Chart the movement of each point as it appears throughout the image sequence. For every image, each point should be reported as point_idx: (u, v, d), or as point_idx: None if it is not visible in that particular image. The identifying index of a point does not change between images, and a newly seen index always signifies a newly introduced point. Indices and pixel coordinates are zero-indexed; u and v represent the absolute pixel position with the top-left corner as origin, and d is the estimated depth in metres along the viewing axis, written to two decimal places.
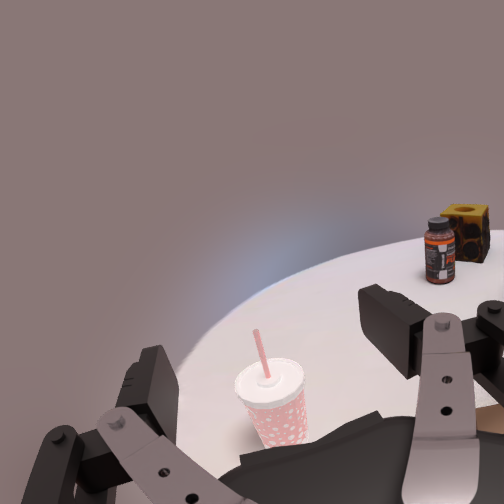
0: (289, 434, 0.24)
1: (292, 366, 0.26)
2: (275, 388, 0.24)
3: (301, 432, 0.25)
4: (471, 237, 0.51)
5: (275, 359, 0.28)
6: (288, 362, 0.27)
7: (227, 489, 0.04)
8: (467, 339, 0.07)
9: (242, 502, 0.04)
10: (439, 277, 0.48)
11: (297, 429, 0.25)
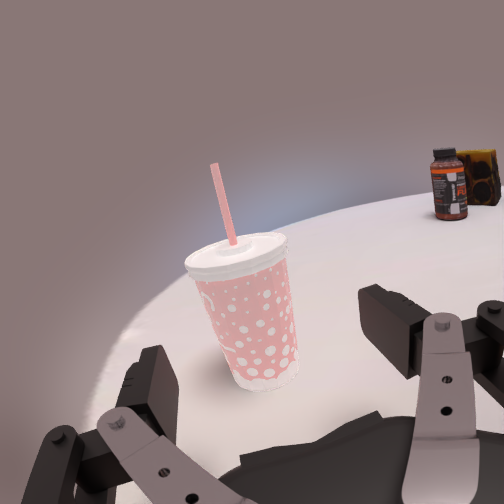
0: (267, 344, 0.17)
1: (270, 237, 0.19)
2: (242, 254, 0.17)
3: (286, 345, 0.18)
4: (481, 178, 0.44)
5: (248, 235, 0.21)
6: (265, 235, 0.20)
7: (226, 489, 0.04)
8: (467, 339, 0.07)
9: (242, 502, 0.04)
10: (451, 211, 0.41)
11: (279, 336, 0.18)
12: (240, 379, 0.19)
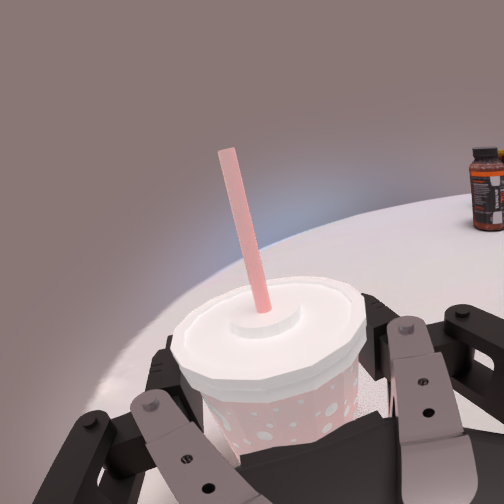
0: None
1: (327, 289, 0.11)
2: (287, 339, 0.08)
3: None
4: None
5: (282, 280, 0.12)
6: (315, 282, 0.11)
7: (245, 482, 0.04)
8: (432, 343, 0.08)
9: (256, 498, 0.04)
10: (493, 221, 0.32)
11: None
12: None
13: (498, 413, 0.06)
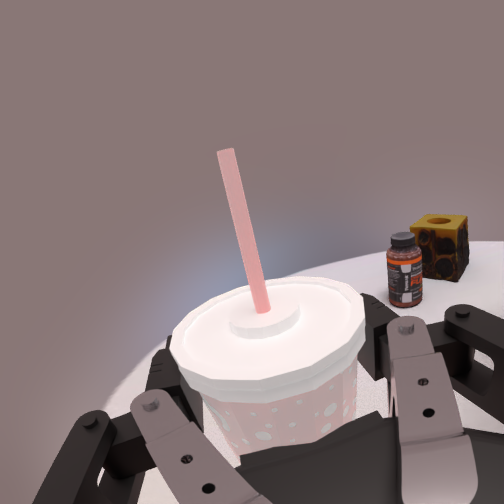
0: None
1: (326, 289, 0.11)
2: (286, 339, 0.08)
3: None
4: (445, 253, 0.48)
5: (281, 280, 0.12)
6: (314, 283, 0.11)
7: (245, 482, 0.04)
8: (432, 343, 0.08)
9: (256, 498, 0.04)
10: (402, 300, 0.45)
11: None
12: None
13: (498, 413, 0.06)
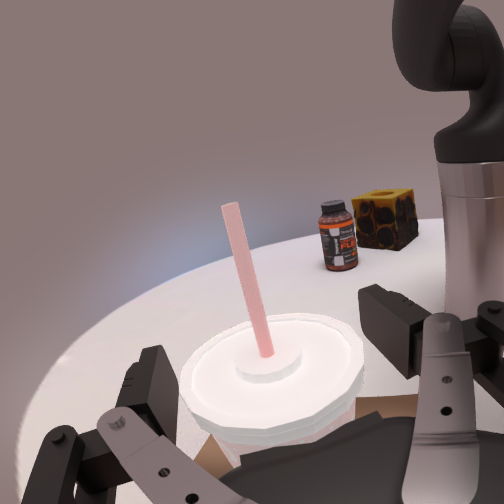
0: None
1: (327, 328, 0.11)
2: (289, 385, 0.08)
3: None
4: (385, 223, 0.54)
5: (283, 316, 0.12)
6: (315, 320, 0.11)
7: (226, 489, 0.04)
8: (467, 339, 0.07)
9: (242, 502, 0.04)
10: (334, 263, 0.51)
11: None
12: None
13: None
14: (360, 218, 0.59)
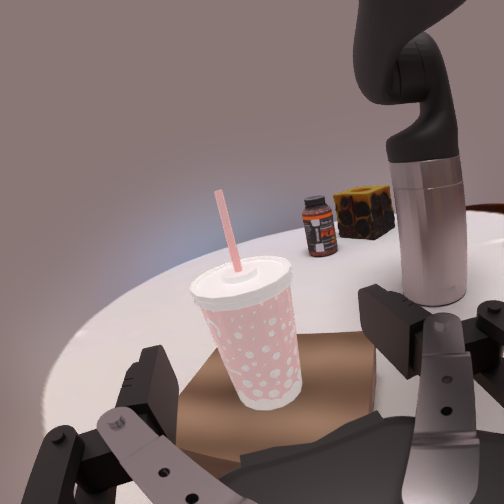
0: (273, 368, 0.18)
1: (274, 261, 0.20)
2: (248, 283, 0.17)
3: (290, 367, 0.18)
4: (362, 215, 0.63)
5: (251, 258, 0.21)
6: (269, 259, 0.20)
7: (227, 489, 0.04)
8: (467, 339, 0.07)
9: (242, 502, 0.04)
10: (316, 250, 0.60)
11: (283, 359, 0.18)
12: (245, 399, 0.19)
13: None
14: (341, 211, 0.67)
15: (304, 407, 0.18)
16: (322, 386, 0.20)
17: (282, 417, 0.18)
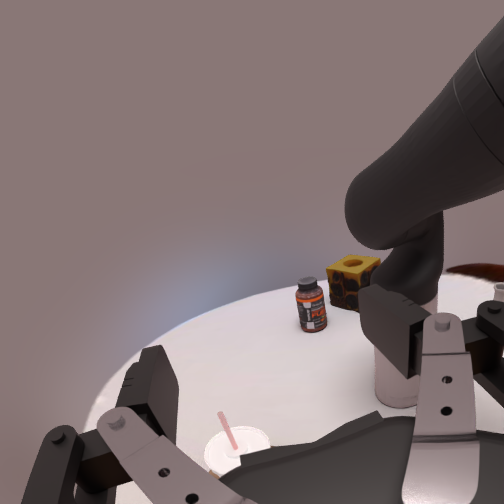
0: None
1: (260, 437, 0.25)
2: None
3: None
4: (352, 290, 0.69)
5: (244, 427, 0.26)
6: (256, 432, 0.26)
7: (226, 489, 0.04)
8: (467, 339, 0.07)
9: (242, 502, 0.04)
10: (307, 327, 0.65)
11: None
12: None
13: None
14: (333, 283, 0.73)
15: None
16: None
17: None
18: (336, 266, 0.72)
